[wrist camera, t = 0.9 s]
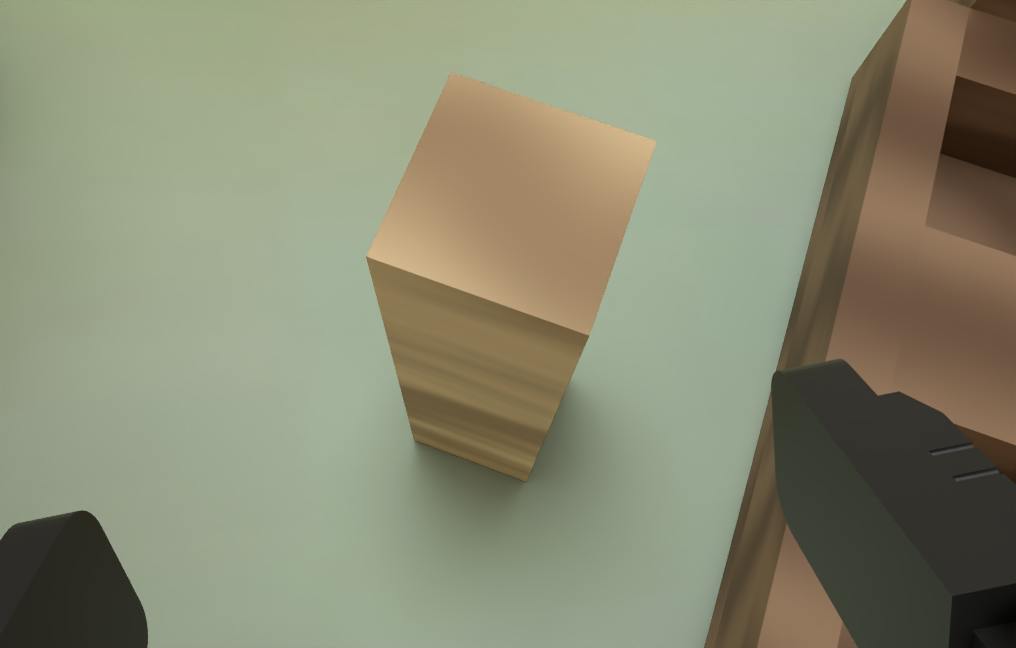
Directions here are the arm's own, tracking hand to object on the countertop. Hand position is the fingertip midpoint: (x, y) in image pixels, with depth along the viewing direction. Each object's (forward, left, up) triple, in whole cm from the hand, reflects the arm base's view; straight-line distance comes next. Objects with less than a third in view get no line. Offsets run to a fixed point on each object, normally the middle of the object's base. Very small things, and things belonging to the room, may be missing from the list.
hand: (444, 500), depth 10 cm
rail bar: (-5, +3, -18) cm, 19 cm away
